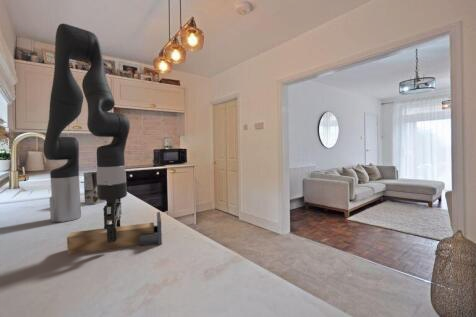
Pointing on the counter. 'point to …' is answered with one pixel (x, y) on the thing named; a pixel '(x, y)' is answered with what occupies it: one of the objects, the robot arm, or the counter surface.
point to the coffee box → (91, 188)
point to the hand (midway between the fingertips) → (114, 236)
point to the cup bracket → (153, 234)
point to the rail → (98, 238)
